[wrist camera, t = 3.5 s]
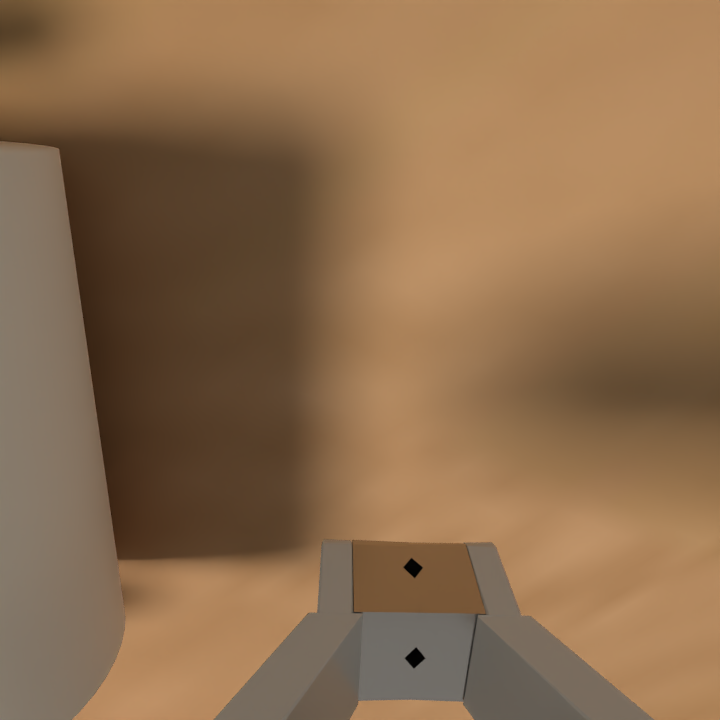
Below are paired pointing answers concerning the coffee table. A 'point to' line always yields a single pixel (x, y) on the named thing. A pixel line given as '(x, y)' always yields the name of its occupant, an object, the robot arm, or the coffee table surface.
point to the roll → (49, 460)
